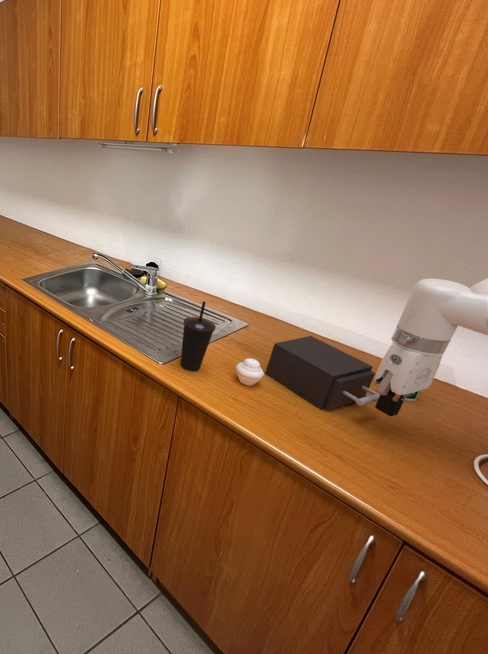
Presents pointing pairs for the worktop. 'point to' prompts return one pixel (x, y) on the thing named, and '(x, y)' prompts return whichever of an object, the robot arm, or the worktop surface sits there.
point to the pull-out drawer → (351, 390)
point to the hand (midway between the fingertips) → (385, 411)
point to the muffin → (249, 371)
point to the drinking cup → (195, 340)
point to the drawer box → (311, 367)
